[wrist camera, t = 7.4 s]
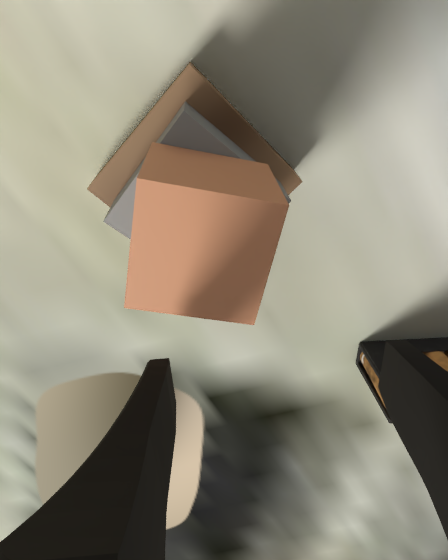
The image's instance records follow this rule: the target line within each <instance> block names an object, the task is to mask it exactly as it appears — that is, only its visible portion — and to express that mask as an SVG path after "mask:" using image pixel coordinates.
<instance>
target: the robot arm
mask: <svg viewBox="0 0 448 560" xmlns="http://www.w3.org/2000/svg"><path fill="white" fill-rule="evenodd" d="M378 388H379V391H380V394H381V396H382V399H383V402H384V405H385V407H386V410H387V412H388V415H389V417H390V419H391V421H392V423H393V425H394V426H395V428H396V430H397V432H398V434H399V436H400V438H401V440H402V442H403V444H404V445H405V447H406V449H407V451H408V453H409V455H410V457H411V458H412V460H413V462H414V464H415V466H416V468H417V470H418V472H419V473H420V475H421V477H422V479H423V481H424V484H425V486H426V488H427V490H428V492H429V495H430V497H431V499H432V502H433V504H434V507H435V509H436V512H437V514H438V516H439V519H440V521H441V524H442V526H443V529H444V532H445V534H446V537H447V539H448V371H446V370H445V369H443V368H442V367H441V366H439V365H438V364H437V363H435V362H434V361H433V360H431V359H430V358H429V357H427V356H426V355H425V354H423V353H422V352H421V351H419V350H418V349H417V348H415V347H414V346H413V345H411V344H410V343H409V342H407V341H406V340H391V341H386V344H385V350H384V355H383V361H382V367H381V372H380V378H379V383H378ZM175 434H176V399H175V393H174V387H173V380H172V374H171V368H170V361H169V358H166V359H153V360H150V361H149V362H148V363H147V365H146V368H145V370H144V372H143V374H142V376H141V378H140V380H139V382H138V384H137V386H136V387H135V389H134V391H133V393H132V395H131V396H130V398H129V400H128V401H127V403H126V405H125V407H124V408H123V410H122V411H121V413H120V415H119V416H118V418H117V419H116V421H115V422H114V424H113V425H112V426H111V428H110V430H109V431H108V432H107V434H106V435H105V437H104V438H103V439H102V441H101V442H100V443H99V445H98V446H97V447H96V448H95V450H94V451H93V452H92V453H91V455H90V456H89V457H88V458H87V460H86V461H85V462H84V463H83V464H82V465H81V466H80V468H79V469H78V470H77V471H76V472H75V473H74V475H73V476H72V477H71V478H70V479H69V480H68V481H67V482H66V483H65V484H64V485H63V486H62V487H61V488H60V489H59V490H58V491H57V492H56V493H55V494H54V495H53V496H52V497H51V498H50V499H49V500H48V501H47V502H46V503H45V504H44V505H43V506H42V507H41V508H40V509H39V510H37V511H36V512H35V513H34V514H33V515H32V516H31V517H30V518H28V519H27V520H26V521H25V522H24V523H23V524H21V525H20V526H19V527H18V528H17V529H16V530H14V531H13V532H12V533H11V534H10V535H8V536H7V537H6V538H5V539H4V540H2V541H1V542H0V560H165V538H166V511H167V498H168V490H169V483H170V474H171V467H172V459H173V451H174V442H175Z"/></svg>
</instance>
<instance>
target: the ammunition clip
mask: <svg viewBox="0 0 448 560" xmlns="http://www.w3.org/2000/svg"><path fill="white" fill-rule="evenodd" d="M386 341H391V340H386ZM386 341H366V342H360V343H359V348H358V353H357V359H356V365H357V367H358V369H359V370H360V372H361V374H362V376H363V377H364V379H365V381H366V383H367V384H368V386H369V388H370V390H371V391H372V393H373V395H374V397H375V398H376V400H377V402H378V404H379V406H380V407H381V409H382V411H383V413H384V415H385V416H386V418H387V420H388V422H389V423H392V421H391V419H390V417H389V415H388V412H387V410H386V407H385V405H384V402H383V399H382V396H381V394H380V391H379V388H378V383H379V378H380V372H381V367H382V361H383V355H384V350H385V344H386ZM406 341H407V342H409V343H410V344H411V345H413V346H414V347H415V348H417V349H418V350H419V351H421V352H422V353H423V354H425V355H426V356H427V357H429V358H430V359H431V360H433V361H434V362H435V363H437V364H438V365H439V366H441V367H442V368H443V369H445V370H446V371H448V337H446V338H426V339H406Z"/></svg>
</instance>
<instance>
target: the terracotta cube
mask: <svg viewBox="0 0 448 560" xmlns="http://www.w3.org/2000/svg"><path fill="white" fill-rule="evenodd" d="M288 207H289V204H288V202H287V200H286V198H285V196H284V194H283V192H282V190H281V188H280V187H279V185H278V183H277V181H276V179H275V177H274V175H273V173H272V171H271V169H270V167H269V165H268V164H265V163H260V162H255V161H249V160H244V159H239V158H234V157H228V156H223V155H218V154H213V153H207V152H202V151H197V150H192V149H186V148H181V147H176V146H171V145H165V144H160V143H155V142H152V144H151V146H150V148H149V151H148V153H147V155H146V158H145V160H144V162H143V164H142V167H141V169H140V171H139V174H138V176H137V180H136V190H135V200H134V211H133V221H132V232H131V242H130V252H129V263H128V273H127V284H126V294H125V304H124V308H129V309H137V310H144V311H152V312H159V313H167V314H174V315H182V316H189V317H197V318H204V319H212V320H220V321H227V322H235V323H242V324H250V325H254V323H255V320H256V317H257V313H258V310H259V306H260V303H261V300H262V296H263V293H264V289H265V286H266V282H267V279H268V276H269V272H270V269H271V265H272V262H273V259H274V255H275V252H276V248H277V245H278V241H279V238H280V235H281V231H282V228H283V224H284V221H285V218H286V214H287V211H288Z"/></svg>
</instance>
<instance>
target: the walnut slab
mask: <svg viewBox="0 0 448 560" xmlns="http://www.w3.org/2000/svg"><path fill="white" fill-rule="evenodd" d="M185 101H186V102H187V103H188V104H189V105H190V106H191V107H193V108H194V109H195V110H196V111H197V112H198V113H200V114H201V115H202V116H203V117H204V118H206V119H207V120H208V121H209V122H210V123H211V124H213V125H214V126H215V127H216V128H217V129H218V130H220V131H221V132H222V133H223V134H224V135H226V136H227V137H228V138H229V139H230V140H231V141H233V142H234V143H235V144H236V145H237V146H238V147H240V148H241V149H242V150H243V151H244V152H246V153H247V154H248V155H249V156H250V157H251V158H253V159H254V160H255V161H256V162H260V163H265V164H268V165H269V167H270V169H271V171H272V173H273V175H274V177H275V178H276V179H277V180H278V181H280V182H281V184H282V186H283V187H284V189H285V191H286V193H287V194H288V195H289V194H290V193H291V192H292V191H293V190H294V189H295V188H296V187H297V186H298V185H300V184H301V183H302V180H301V179H300V178H299V176H298V175H297V174H296V172H295V171H294V170H293V169H292V167H291V166H290V165H289V164H288V163H287V162H286V161H285V160H284V159H283V158H282V157H281V156H280V155H279V154H278V153H277V152H276V151H275V150H274V149H273V148H272V147H271V146H270V144H269V143H268V142H267V141H266V140H265V139H264V138H263V137H262V136H261V135H260V134H259V133H258V132H257V131H256V130H255V129H254V128H253V127H252V126H251V125H250V124H249V123H248V122H247V120H246V119H245V118H244V117H243V116H242V115H241V114H240V113H239V112H238V111H237V110H236V109H235V108H234V107H233V106H232V105H231V104H230V103H229V102H228V101H227V100H226V99H225V98H224V96H223V95H222V94H221V93H220V92H219V91H218V90H217V89H216V88H215V87H214V86H213V85H212V84H211V83H210V82H209V81H208V80H207V79H206V78H205V77H204V76H203V75H202V74H201V72H200V71H199V70H198V69H197V68H196V67H195V66H194V65H193V64H192V63H191V62H189V64H188V65H187V66H186V67H185V69H184V70H183V71H182V72H181V73H180V75H179V76H178V77H177V78H176V80H175V81H174V82H173V83H172V84H171V86H170V87H169V88H168V89H167V91H166V92H165V93H164V94H163V95H162V97H161V98H160V99H159V100H158V101H157V103H156V104H155V105H154V106H153V108H152V109H151V110H150V111H149V112H148V114H147V115H146V116H145V117H144V119H143V120H142V121H141V122H140V123H139V125H138V126H137V127H136V128H135V130H134V131H133V132H132V133H131V134H130V136H129V137H128V138H127V139H126V141H125V142H124V143H123V144H122V145H121V147H120V148H119V149H118V150H117V151H116V153H115V154H114V155H113V156H112V158H111V159H110V160H109V161H108V162H107V164H106V165H105V166H104V167H103V169H102V170H101V171H100V172H99V173H98V175H97V176H96V177H95V179H94V180H93V181H92V183H91V184H90V185H89V187H88V188H87V189H88V190H89V191H90V192H91V193H93V194H94V195H95V196H96V197H98V198H99V199H100V200H102V201H103V202H104V203H105V204H107V205H108V206H109V207H111V205H112V203H113V201H114V200H115V198H116V197H117V196H118V194H119V193H120V191H121V190H122V189H123V187H124V186H125V184H126V183H127V182H128V180H129V179H130V177H131V176H132V175H133V173H134V172H135V171H136V169H137V168H138V166H139V165H140V164H141V162H142V161H143V159H144V158H145V157H146V155H147V153H148V151H149V148H150V146H151V144H152V142H155V143H156V141H157V140H158V139H159V137H160V136H161V134H162V133H163V132H164V130H165V129H166V127H167V126H168V125H169V123H170V122H171V121H172V119H173V118H174V116H175V115H176V114H177V112H178V111H179V109H180V108H181V107H182V105H183V104H184V102H185Z"/></svg>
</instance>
